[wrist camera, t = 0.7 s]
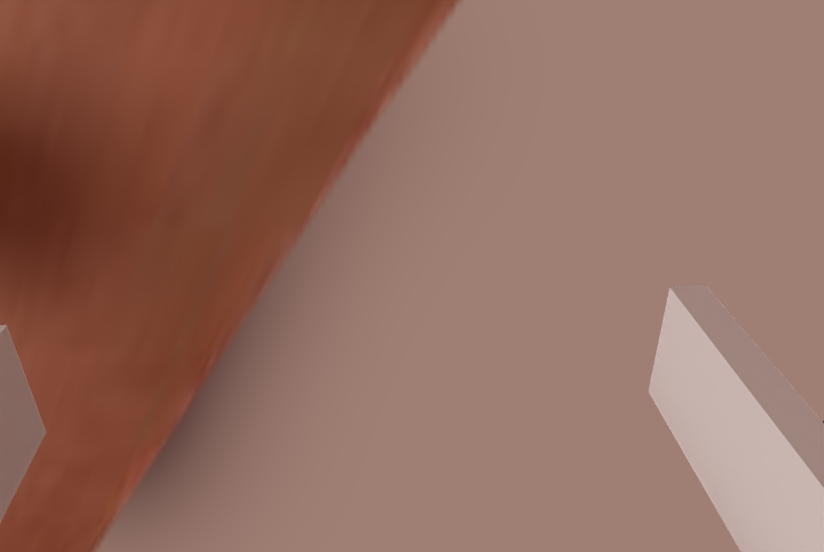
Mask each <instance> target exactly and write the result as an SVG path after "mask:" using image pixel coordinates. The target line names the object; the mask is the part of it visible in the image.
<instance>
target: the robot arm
mask: <svg viewBox="0 0 824 552" xmlns="http://www.w3.org/2000/svg"><path fill="white" fill-rule="evenodd" d="M648 392H649V393H650V395H651V397H652V399H653V400H654V402H655V404H656V406H657V407H658V409H659V411H660V413H661V414H662V416H663V418H664V420H665V421H666V423H667V425H668V426H669V428H670V430H671V431H672V433H673V435H674V437H675V438H676V440H677V442H678V444H679V445H680V447H681V449H682V451H683V452H684V454H685V456H686V458H687V459H688V461H689V463H690V464H691V466H692V468H693V470H694V471H695V473H696V475H697V477H698V478H699V480H700V482H701V484H702V485H703V487H704V489H705V490H706V492H707V494H708V496H709V497H710V499H711V501H712V502H713V504H714V506H715V508H716V509H717V511H718V513H719V515H720V516H721V518H722V520H723V522H724V523H725V525H726V527H727V529H728V530H729V532H730V534H731V535H732V537H733V539H734V541H735V542H736V544H737V546H738V548H739V549H740V551H741V552H824V421H822V420H821V419H820V418H819V417H818V416H817V415H816V413H815V412H814V411H813V410H812V409H811V408H810V406H809V405H808V404H807V403H806V402H805V400H804V399H803V398H802V397H801V396H800V395H799V394H798V392H797V391H796V390H795V389H794V388H793V386H792V385H791V384H790V383H789V382H788V381H787V380H786V378H785V377H784V376H783V375H782V374H781V372H780V371H779V370H778V369H777V368H776V367H775V365H774V364H773V363H772V362H771V361H770V360H769V358H768V357H767V356H766V355H765V354H764V353H763V351H762V350H761V349H760V348H759V347H758V346H757V345H756V343H755V342H754V341H753V340H752V338H751V337H750V336H749V335H748V334H747V333H746V332H745V330H744V329H743V328H742V327H741V326H740V324H739V323H738V322H737V321H736V320H735V319H734V318H733V316H732V315H731V314H730V313H729V312H728V311H727V309H726V308H725V307H724V306H723V305H722V303H721V302H720V301H719V300H718V299H717V298H716V296H715V295H714V294H713V293H712V292H711V291H710V289H709V288H708V287H707V286H706V285H702V286H684V287H670V289H669V294H668V299H667V304H666V309H665V313H664V318H663V323H662V328H661V333H660V338H659V342H658V348H657V352H656V357H655V362H654V367H653V372H652V376H651V381H650V386H649V391H648ZM45 434H46V431H45V428H44V425H43V422H42V420H41V417H40V414H39V412H38V409H37V406H36V403H35V401H34V398H33V395H32V393H31V390H30V387H29V384H28V382H27V379H26V376H25V373H24V371H23V368H22V365H21V363H20V360H19V357H18V354H17V352H16V349H15V346H14V344H13V341H12V338H11V335H10V333H9V330H8V327H7V325H0V522H1V520H2V518H3V516H4V514H5V512H6V510H7V508H8V506H9V505H10V503H11V501H12V499H13V497H14V495H15V493H16V491H17V489H18V487H19V485H20V483H21V481H22V479H23V477H24V475H25V473H26V471H27V469H28V467H29V465H30V463H31V461H32V459H33V457H34V455H35V453H36V451H37V449H38V447H39V445H40V443H41V441H42V439H43V438H44V436H45Z"/></svg>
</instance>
